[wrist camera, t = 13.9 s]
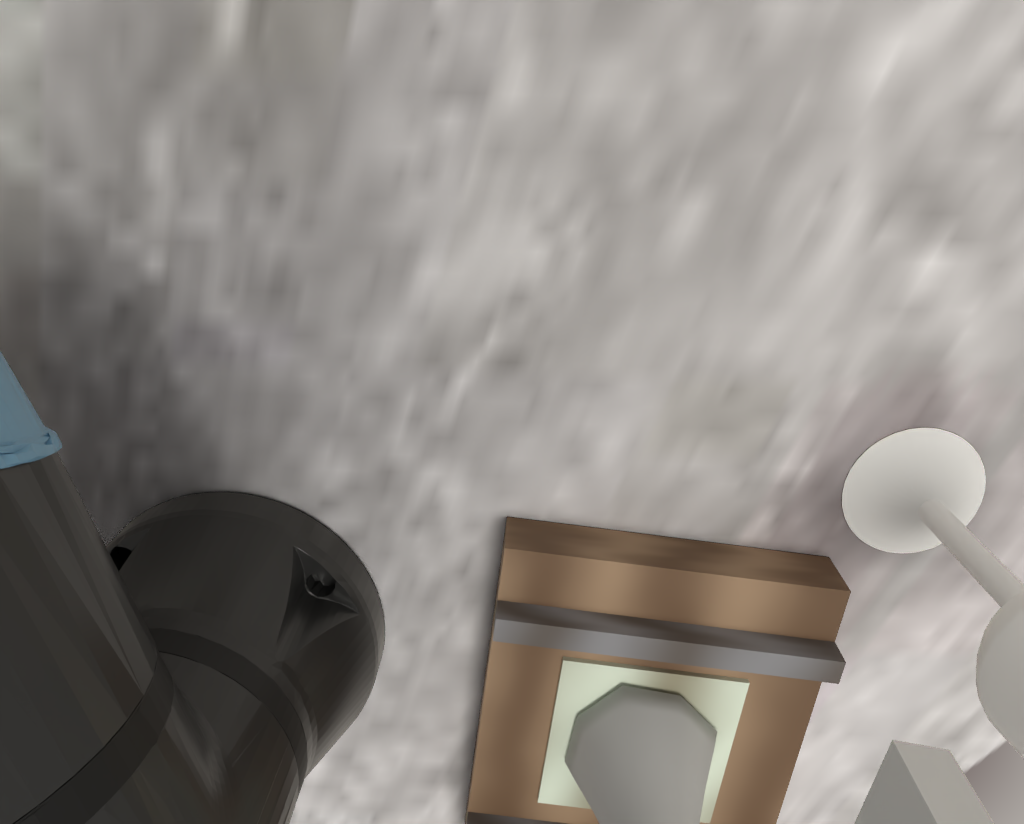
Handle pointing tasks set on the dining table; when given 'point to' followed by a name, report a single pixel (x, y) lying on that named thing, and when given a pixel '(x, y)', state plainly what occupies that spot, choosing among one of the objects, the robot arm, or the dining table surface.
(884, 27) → the dining table surface
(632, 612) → the dock
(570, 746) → the flask
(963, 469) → the champagne flute
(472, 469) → the dining table surface
